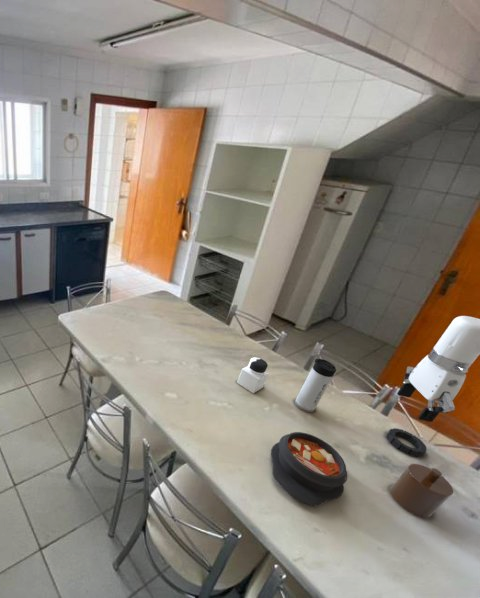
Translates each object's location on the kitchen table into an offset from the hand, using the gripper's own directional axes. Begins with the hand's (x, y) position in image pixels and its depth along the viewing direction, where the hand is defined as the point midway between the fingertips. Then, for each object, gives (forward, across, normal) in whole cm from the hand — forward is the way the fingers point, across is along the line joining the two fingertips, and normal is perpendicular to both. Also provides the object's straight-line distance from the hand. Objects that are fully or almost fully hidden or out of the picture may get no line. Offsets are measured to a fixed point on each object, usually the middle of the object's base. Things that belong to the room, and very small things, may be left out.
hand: (413, 407), depth 95 cm
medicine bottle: (+21, +22, +34) cm, 46 cm away
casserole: (+21, -15, +26) cm, 37 cm away
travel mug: (+21, +16, +17) cm, 31 cm away
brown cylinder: (+21, -15, 0) cm, 26 cm away
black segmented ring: (+21, +7, -11) cm, 25 cm away
